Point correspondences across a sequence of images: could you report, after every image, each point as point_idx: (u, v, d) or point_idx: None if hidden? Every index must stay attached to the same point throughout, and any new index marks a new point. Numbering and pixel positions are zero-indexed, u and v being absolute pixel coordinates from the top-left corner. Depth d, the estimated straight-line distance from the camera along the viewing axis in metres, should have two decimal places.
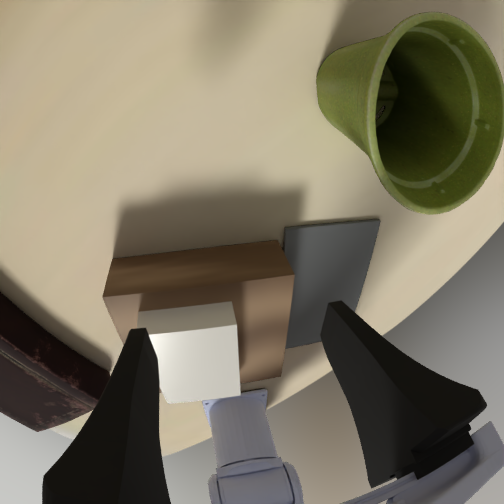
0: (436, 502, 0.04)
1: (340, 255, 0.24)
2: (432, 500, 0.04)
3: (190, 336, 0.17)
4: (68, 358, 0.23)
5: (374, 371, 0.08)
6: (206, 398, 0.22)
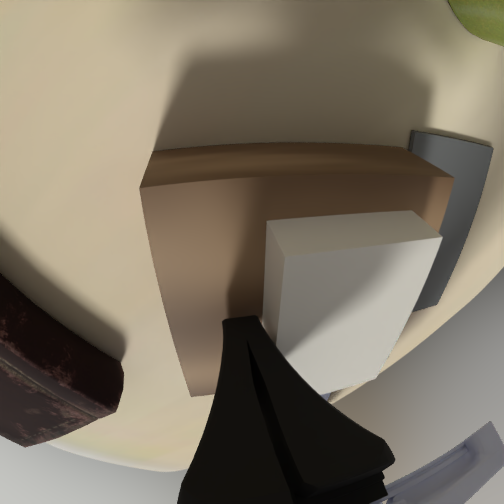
0: (436, 502, 0.04)
1: (458, 185, 0.15)
2: (432, 500, 0.04)
3: (379, 258, 0.09)
4: (55, 338, 0.14)
5: (267, 398, 0.08)
6: (331, 390, 0.14)
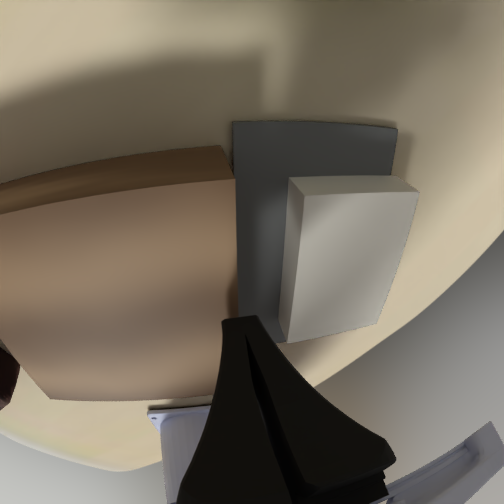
0: (436, 502, 0.04)
1: None
2: (432, 500, 0.04)
3: None
4: None
5: (268, 398, 0.08)
6: None
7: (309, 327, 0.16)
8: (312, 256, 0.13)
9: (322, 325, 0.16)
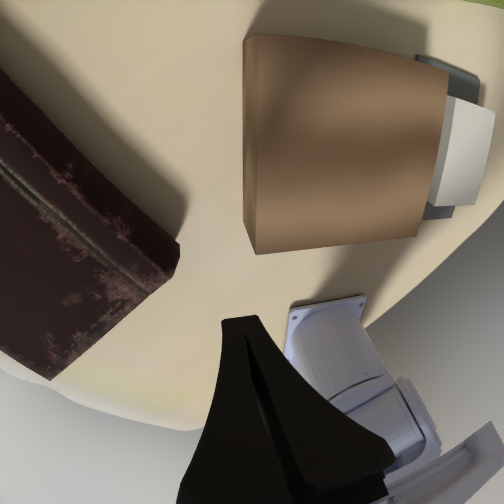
0: (436, 502, 0.04)
1: None
2: (432, 500, 0.04)
3: None
4: (117, 193, 0.16)
5: (268, 398, 0.08)
6: None
7: (446, 193, 0.20)
8: (455, 136, 0.17)
9: (452, 193, 0.20)
